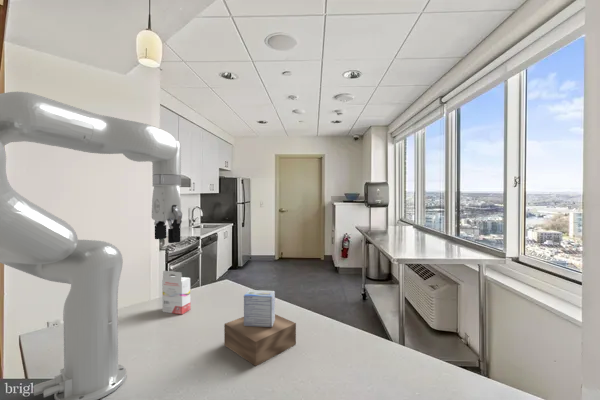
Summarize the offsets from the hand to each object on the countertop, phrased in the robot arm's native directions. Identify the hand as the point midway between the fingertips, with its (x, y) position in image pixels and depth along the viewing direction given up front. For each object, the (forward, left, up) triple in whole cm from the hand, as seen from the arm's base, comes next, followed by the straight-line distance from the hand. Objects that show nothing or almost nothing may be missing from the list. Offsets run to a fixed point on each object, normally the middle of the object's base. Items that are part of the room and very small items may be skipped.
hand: (167, 240), depth 83 cm
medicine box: (+16, -23, -22) cm, 36 cm away
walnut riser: (+16, -23, -28) cm, 40 cm away
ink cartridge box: (+10, +17, -28) cm, 35 cm away
